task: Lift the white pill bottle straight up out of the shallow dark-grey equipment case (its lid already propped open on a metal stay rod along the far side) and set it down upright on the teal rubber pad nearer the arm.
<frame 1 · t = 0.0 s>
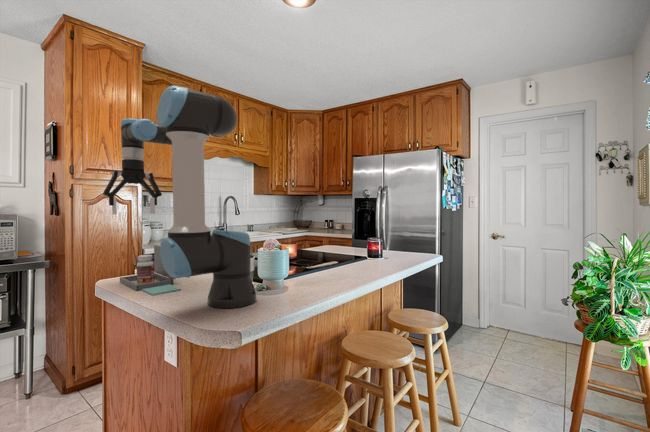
hand: (134, 214, 131), 28 cm above the countertop, fingers open, 13 cm apart
case: (145, 283, 134), on the countertop
pad: (161, 290, 123), on the countertop
pill bottle: (145, 284, 134), resting in case
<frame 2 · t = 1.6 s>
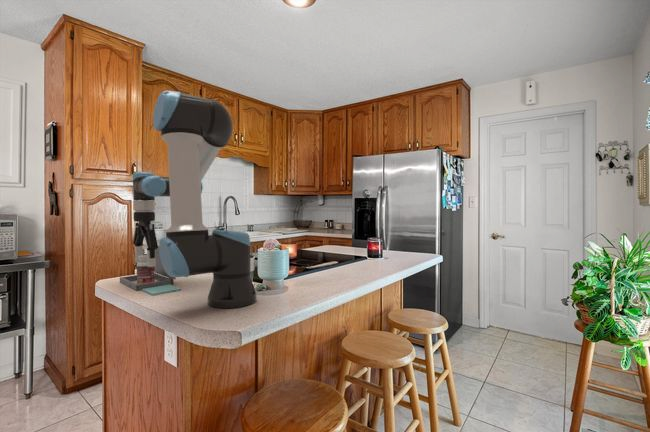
hand: (145, 264, 134), 8 cm above the countertop, fingers open, 13 cm apart
nothing on the countertop moved.
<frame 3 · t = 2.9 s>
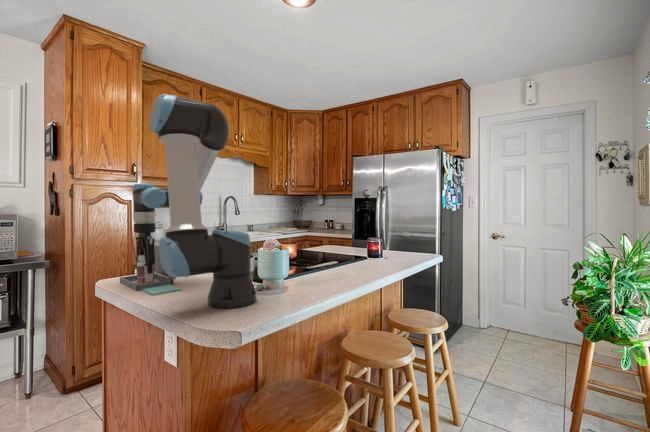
hand: (145, 280, 134), 1 cm above the countertop, fingers closed on pill bottle, 6 cm apart
pill bottle: (145, 284, 134), resting in case, touching gripper
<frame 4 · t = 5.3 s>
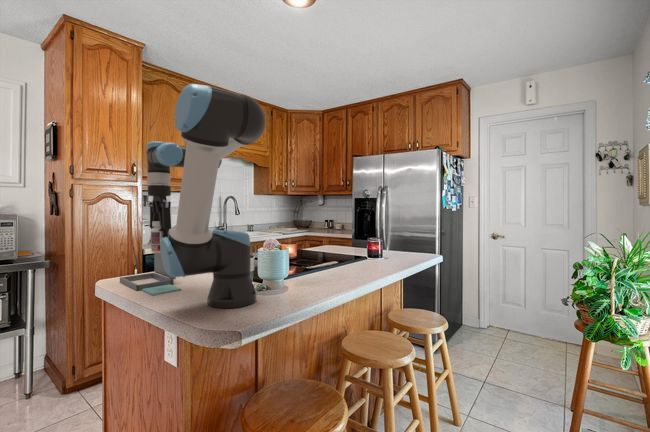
hand: (160, 248, 122), 16 cm above the countertop, fingers closed on pill bottle, 6 cm apart
pill bottle: (160, 252, 122), point 14 cm above the countertop, touching gripper
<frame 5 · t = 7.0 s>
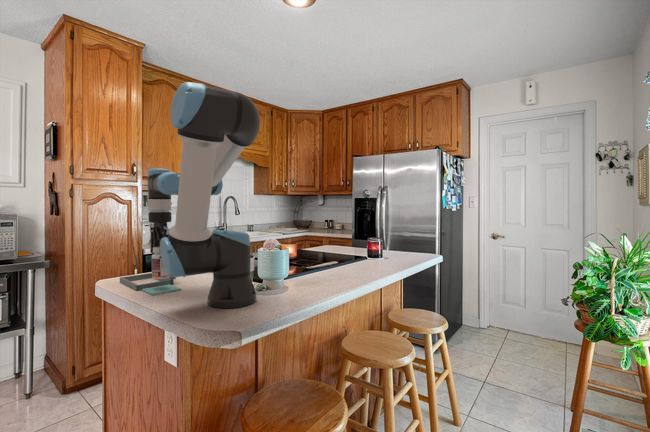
hand: (161, 274, 123), 6 cm above the countertop, fingers closed on pill bottle, 6 cm apart
pill bottle: (161, 278, 123), point 4 cm above the countertop, touching gripper
when the fingers open (2 cm above the countertop, at t = 8.1 s): pill bottle stays where it is, resting on pad.
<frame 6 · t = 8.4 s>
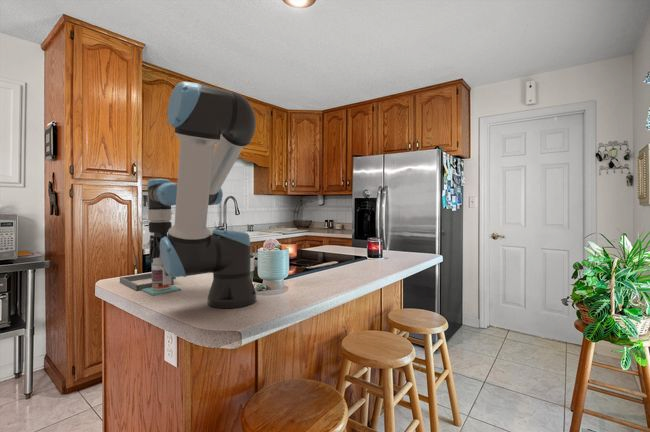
hand: (161, 281, 123), 3 cm above the countertop, fingers open, 10 cm apart
pill bottle: (161, 289, 123), resting on pad
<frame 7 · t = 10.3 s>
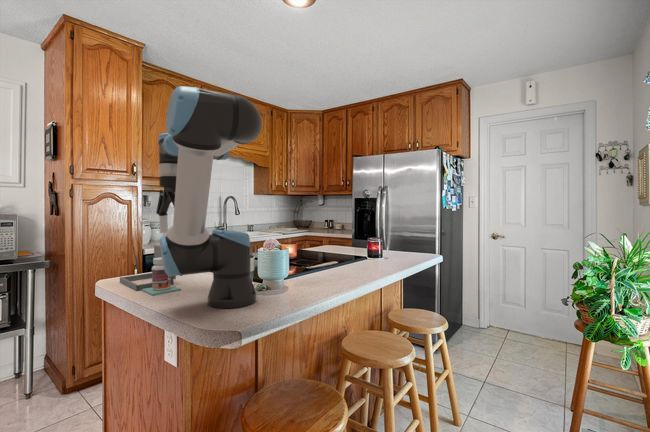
hand: (171, 233, 124), 21 cm above the countertop, fingers open, 13 cm apart
nothing on the countertop moved.
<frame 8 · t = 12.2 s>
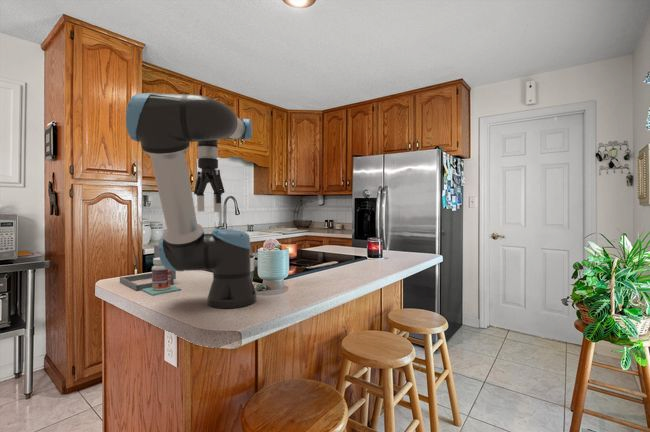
hand: (208, 211, 134), 29 cm above the countertop, fingers open, 13 cm apart
nothing on the countertop moved.
at the end: pill bottle inside the target area on the pad (0.0 cm from its centre), point 0.4 cm above the pad's base; pill bottle tilted 0°; the gripper is holding nothing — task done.
